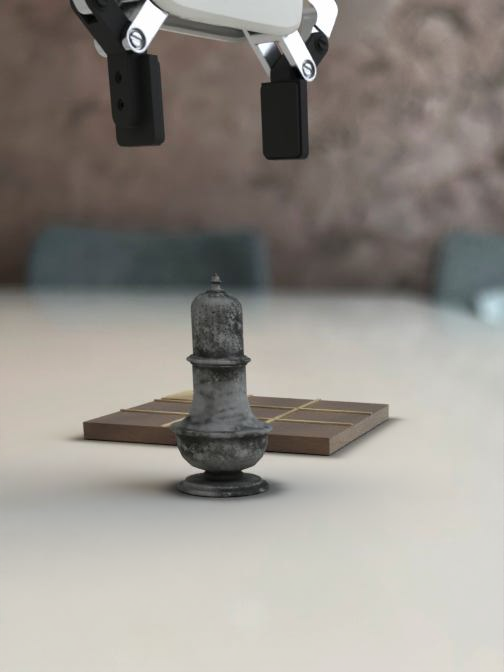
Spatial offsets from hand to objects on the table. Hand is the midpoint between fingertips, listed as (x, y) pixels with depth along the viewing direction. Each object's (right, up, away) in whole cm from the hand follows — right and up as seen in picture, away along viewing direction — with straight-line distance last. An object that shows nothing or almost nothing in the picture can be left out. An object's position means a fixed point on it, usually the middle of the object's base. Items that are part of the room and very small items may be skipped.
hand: (217, 153), depth 59 cm
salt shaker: (-1, -17, +6) cm, 18 cm away
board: (-4, -10, +26) cm, 28 cm away
